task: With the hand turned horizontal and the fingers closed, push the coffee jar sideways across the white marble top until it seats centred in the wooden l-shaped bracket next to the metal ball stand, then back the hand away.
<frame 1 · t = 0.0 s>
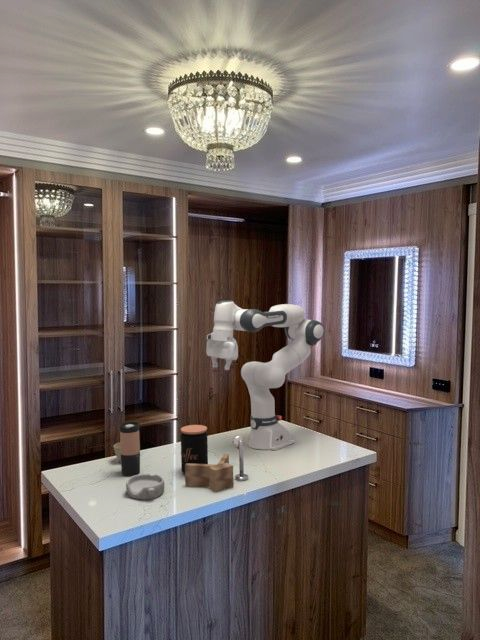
hand: (220, 368, 212), 39 cm above the table, tool pointing down, fingers open, 8 cm apart
travel mug: (130, 473, 195), on the table
metal ball stand: (241, 478, 187), on the table
flower pot: (126, 461, 209), on the table
dish: (146, 493, 176), on the table
coffee jar: (194, 472, 195), on the table
wooden l-shaped bracket: (212, 482, 184), on the table
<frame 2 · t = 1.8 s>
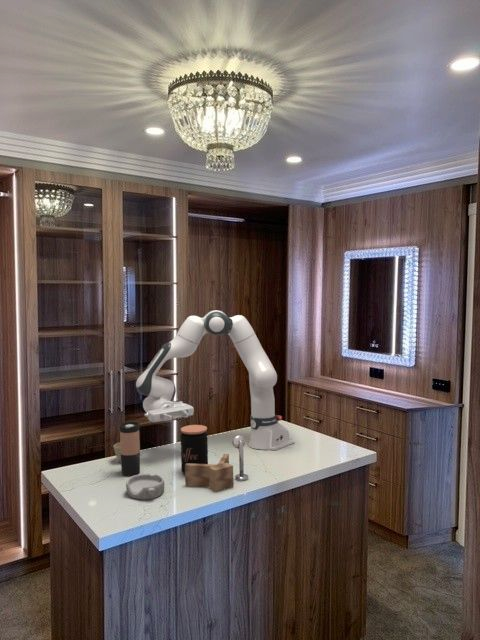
hand: (179, 417, 203), 20 cm above the table, tool horizontal, fingers open, 5 cm apart
nothing on the table moved.
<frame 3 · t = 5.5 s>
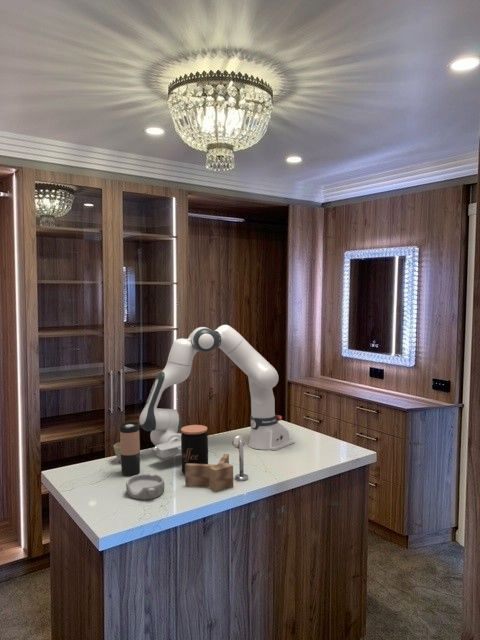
hand: (188, 452, 198), 7 cm above the table, tool horizontal, fingers closed, pressing on coffee jar
coffee jar: (195, 472, 194), on the table, touching gripper
everything else where it was.
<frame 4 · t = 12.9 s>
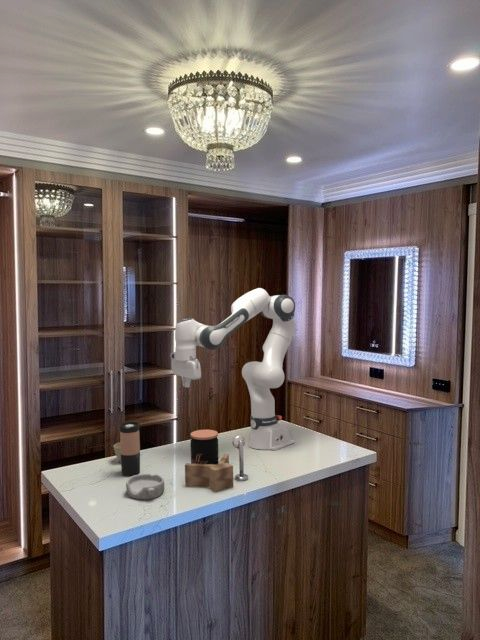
hand: (186, 386, 211), 31 cm above the table, tool pointing down, fingers closed
coffee jar: (205, 479, 187), on the table
everything else where it was.
at the end: coffee jar 0.6 cm from the target spot on the wooden l-shaped bracket, point 0.0 cm above the wooden l-shaped bracket's base; coffee jar tilted 0°; coffee jar moved 8.5 cm from its start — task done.
